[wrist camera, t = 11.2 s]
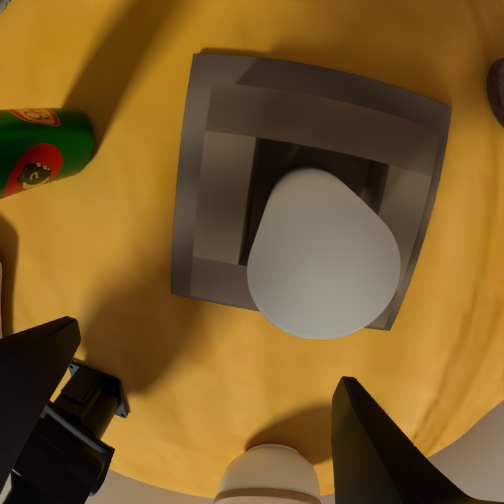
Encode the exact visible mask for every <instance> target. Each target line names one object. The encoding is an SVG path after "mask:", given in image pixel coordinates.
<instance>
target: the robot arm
mask: <svg viewBox="0 0 504 504" xmlns="http://www.w3.org/2000/svg"><path fill="white" fill-rule="evenodd" d="M80 341H81V336H80V331H79V326H78V321H77V320H76V319H75V318H72V317H69V316H65V317H62V318H59V319H56V320H53V321H50V322H48V323H45V324H42V325H39V326H36V327H33V328H30V329H27V330H24V331H21V332H18V333H15V334H12V335H10V336H7V337H4V338H1V339H0V494H1V492H2V490H3V487H4V485H5V483H6V481H7V479H8V477H9V474H10V472H11V486H12V487H11V489H10V491H9V492H8V494H7V496H6V497H5V499H4V501H3V502H2V504H84V503H85V501H86V499H87V498H88V496H93V495H95V493H97V491H98V490H99V489H100V487H101V485H102V484H103V482H104V480H105V477H106V474H107V471H108V469H109V466H110V463H111V460H112V457H113V454H114V451H115V449H114V448H113V447H111V446H108V445H107V444H105V443H104V442H102V441H101V438H102V436H103V434H104V432H105V431H106V429H107V427H108V425H109V423H110V422H111V420H112V418H113V416H114V415H117V416H120V417H123V418H126V417H127V415H128V413H127V409H126V405H125V401H124V396H123V392H122V387H121V383H120V381H119V380H118V379H116V378H114V377H111V376H108V375H106V374H103V373H100V372H98V371H95V370H92V369H90V368H87V367H85V366H82V365H80V364H77V363H75V362H73V361H71V360H72V358H73V356H74V354H75V352H76V350H77V348H78V346H79V344H80ZM68 367H69V370H70V373H71V376H72V377H71V378H70V379H69V381H68V382H67V383H66V385H65V386H64V387H63V388H62V390H61V393H60V394H59V396H58V397H57V398H56V400H55V401H54V402H53V403H52V402H51V401H50V398H51V396H52V395H53V393H54V391H55V390H56V388H57V386H58V385H59V383H60V382H61V380H62V378H63V376H64V375H65V373H66V371H67V369H68ZM331 443H332V456H333V470H334V487H335V504H504V502H494V501H485V500H478V499H475V498H472V497H470V496H468V495H466V494H465V493H464V492H463V491H461V490H460V489H459V488H458V487H457V486H456V485H455V484H453V483H452V482H451V481H450V480H449V479H448V478H447V477H445V476H444V475H443V474H442V473H441V472H440V471H439V470H438V469H437V468H436V467H435V466H434V465H433V464H432V463H430V461H429V460H428V459H427V458H426V457H425V456H424V455H423V454H422V453H421V452H420V451H419V450H418V448H417V447H416V446H414V444H413V443H412V442H411V441H410V440H409V438H408V437H407V436H406V435H405V434H404V433H403V432H402V430H401V429H400V428H399V427H398V426H397V425H396V424H395V423H394V421H393V420H392V419H391V418H390V417H389V416H388V415H387V414H386V412H385V411H384V410H383V409H382V408H381V407H380V406H379V404H378V403H377V402H376V401H375V400H374V399H373V398H372V396H371V395H370V394H369V393H368V392H367V391H366V390H365V389H364V387H363V386H362V385H361V384H360V383H359V382H358V381H357V379H356V378H354V377H347V376H343V377H342V378H341V379H340V381H339V383H338V385H337V388H336V390H335V392H334V394H333V400H332V431H331Z"/></svg>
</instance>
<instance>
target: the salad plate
mask: <svg viewBox="0 0 504 504" xmlns="http://www.w3.org/2000/svg"><path fill="white" fill-rule="evenodd" d="M1 281H2V265H1V262H0V339H1V338H3V336H2V323H1Z"/></svg>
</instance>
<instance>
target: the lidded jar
mask: <svg viewBox="0 0 504 504" xmlns="http://www.w3.org/2000/svg"><path fill="white" fill-rule="evenodd" d="M214 504H321V502H320V487H319V481H318V478H317V474H316V472H315V470H314V468H313V466H312V465H311V464H310V463H309V461H308V460H306V459H305V458H304V457H303V456H301V455H300V454H299V452H298V451H297V450H295V449H294V448H292V447H289V446H286V445H281V444H261V445H256V446H254V447H251V448H250V449H249V450H248V451H247V452H245V453H243V454H241V455H240V456H238V457H237V458H236V459H234V460H233V461H232V462H231V463H230V465H229V466H228V467H227V469H226V471H225V472H224V474H223V477H222V479H221V482H220V484H219V488H218V492H217V496H216V497H215V500H214Z"/></svg>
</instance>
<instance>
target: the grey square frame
mask: <svg viewBox="0 0 504 504" xmlns="http://www.w3.org/2000/svg"><path fill="white" fill-rule="evenodd" d="M450 116H451V107H450V106H448V105H446V104H443V103H441V102H438V101H436V100H433V99H430V98H428V97H425V96H423V95H420V94H417V93H414V92H411V91H409V90H406V89H403V88H400V87H397V86H393V85H390V84H387V83H384V82H380V81H377V80H373V79H370V78H366V77H362V76H359V75H355V74H351V73H346V72H342V71H338V70H333V69H329V68H324V67H319V66H314V65H308V64H303V63H297V62H290V61H284V60H276V59H268V58H260V57H250V56H238V55H223V54H193V60H192V66H191V71H190V78H189V84H188V91H187V97H186V104H185V112H184V119H183V127H182V135H181V144H180V153H179V163H178V173H177V184H176V197H175V210H174V226H173V245H172V270H171V294H175V295H179V296H184V297H188V298H193V299H198V300H203V301H208V302H213V303H218V304H223V305H228V306H233V307H238V308H243V309H249V310H254V311H260V310H259V309H258V308H257V306H256V304H255V302H254V301H253V299H252V296H251V293H250V290H249V286H248V280H247V265H248V259H249V255H250V251H251V249H252V246H253V243H254V240H255V237H256V234H257V231H258V228H259V225H260V222H261V219H262V217H263V214H264V211H265V208H266V205H267V202H268V199H269V196H270V193H271V190H272V188H273V185H274V183H275V181H276V180H277V178H278V177H279V176H280V175H281V174H282V173H283V172H284V171H286V170H287V169H289V168H291V167H293V166H296V165H299V164H315V165H319V166H322V167H324V168H326V169H328V170H329V171H330V172H332V173H333V174H334V175H335V176H336V177H337V178H338V179H340V180H341V181H342V182H343V183H344V184H345V185H346V186H347V187H348V188H349V189H350V190H352V191H353V192H354V193H355V194H356V195H357V196H358V197H359V198H360V199H361V200H362V201H363V202H364V203H365V204H366V205H367V206H368V207H369V208H370V209H372V210H373V211H374V212H375V213H376V214H377V215H378V216H379V217H380V218H381V219H382V221H383V222H384V223H385V224H386V225H387V226H388V228H389V229H390V231H391V232H392V234H393V236H394V238H395V241H396V243H397V246H398V250H399V254H400V277H399V282H398V285H397V288H396V291H395V293H394V295H393V297H392V299H391V301H390V303H389V304H388V306H387V307H386V308H385V309H384V311H383V312H382V313H381V314H380V315H379V316H378V317H377V318H376V319H375V320H374V321H372V322H371V323H370V324H369V325H367V326H366V327H364V328H371V329H379V330H387V331H390V330H391V327H392V325H393V323H394V320H395V318H396V315H397V313H398V311H399V308H400V306H401V303H402V300H403V298H404V295H405V293H406V290H407V287H408V285H409V282H410V279H411V276H412V274H413V271H414V268H415V265H416V262H417V259H418V256H419V253H420V250H421V246H422V243H423V240H424V237H425V233H426V230H427V226H428V223H429V219H430V216H431V212H432V208H433V204H434V200H435V196H436V192H437V188H438V183H439V179H440V174H441V169H442V164H443V159H444V154H445V148H446V143H447V136H448V130H449V123H450Z"/></svg>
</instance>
